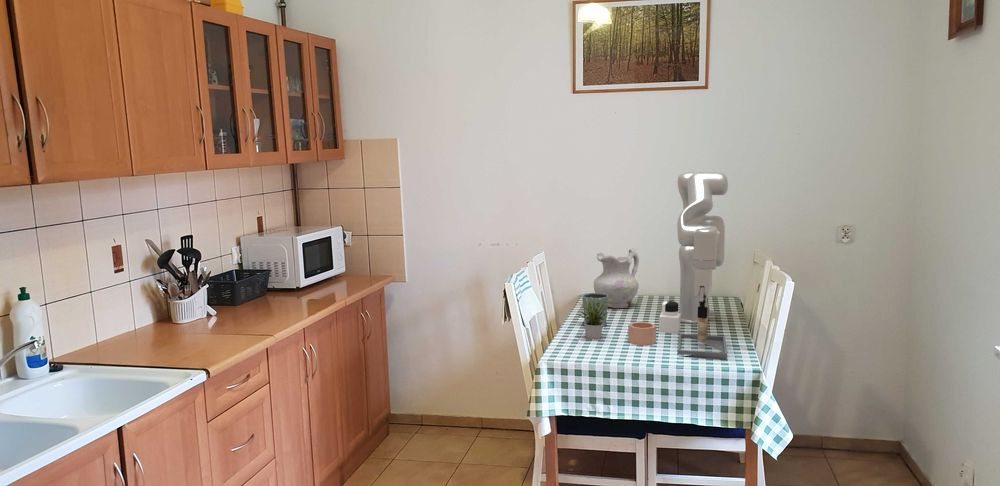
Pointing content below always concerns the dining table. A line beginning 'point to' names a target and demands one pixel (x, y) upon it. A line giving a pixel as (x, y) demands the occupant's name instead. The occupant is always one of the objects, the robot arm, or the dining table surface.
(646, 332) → the cup
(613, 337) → the dining table surface
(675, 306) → the medicine bottle
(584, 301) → the blue-grey plant pot
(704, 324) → the dowel
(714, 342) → the tray
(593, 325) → the house plant
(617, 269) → the ceramic pitcher
